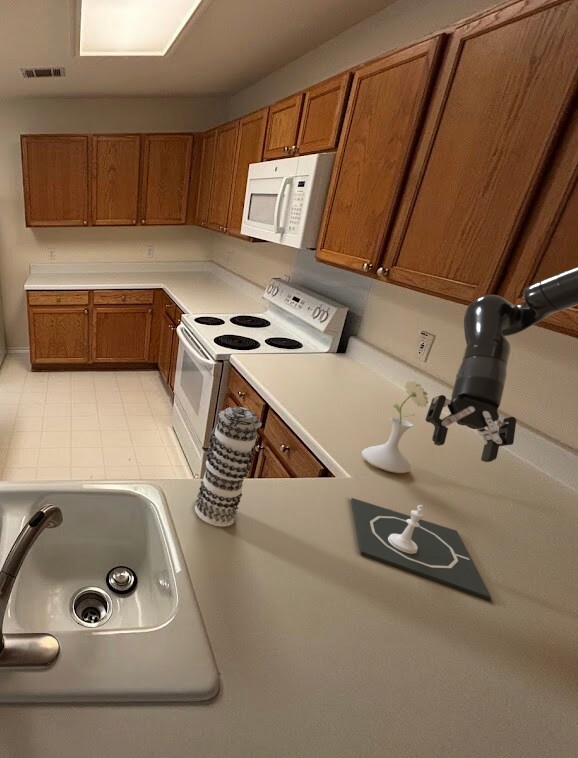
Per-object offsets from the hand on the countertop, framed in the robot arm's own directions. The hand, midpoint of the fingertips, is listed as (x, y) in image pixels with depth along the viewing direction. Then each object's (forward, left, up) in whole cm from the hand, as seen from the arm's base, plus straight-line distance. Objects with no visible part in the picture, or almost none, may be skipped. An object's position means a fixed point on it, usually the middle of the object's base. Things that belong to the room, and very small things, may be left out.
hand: (462, 452), depth 84 cm
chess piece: (+6, +11, -19) cm, 23 cm away
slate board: (+4, +8, -19) cm, 22 cm away
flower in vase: (+4, -28, -20) cm, 34 cm away
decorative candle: (+42, +22, -20) cm, 52 cm away
